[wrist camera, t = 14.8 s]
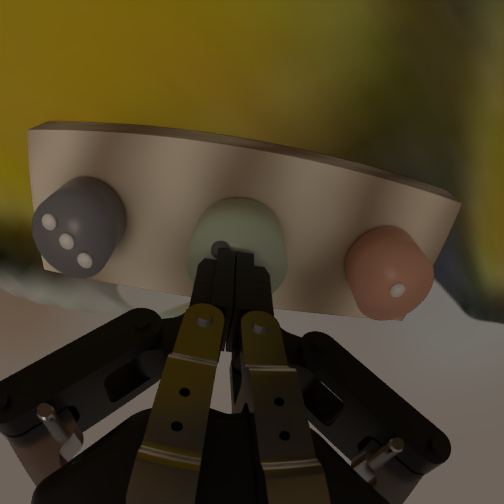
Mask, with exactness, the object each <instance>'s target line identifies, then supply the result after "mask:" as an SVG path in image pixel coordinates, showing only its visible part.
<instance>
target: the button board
mask: <svg viewBox="0 0 504 504" xmlns="http://www.w3.org/2000/svg"><path fill="white" fill-rule="evenodd" d="M28 154H29V169H30V181H31V191H32V200H33V208H34V213H35V211H36V209H37V207H38V206H39V205H40V204H41V203H42V202H43V201H44V200H45V199H47V198H48V197H49V196H50V195H51V194H53V193H54V192H55V191H56V190H57V189H59V188H60V187H61V186H62V185H64V184H65V183H66V182H68V181H69V180H72V179H74V178H79V177H88V178H93V179H96V180H98V181H100V182H102V183H104V184H105V185H107V186H108V187H109V188H110V189H111V190H112V191H113V192H114V193H115V194H116V196H117V197H118V199H119V200H120V202H121V204H122V206H123V209H124V212H125V218H126V227H125V232H124V235H123V237H122V239H121V240H120V242H119V244H118V245H117V247H116V248H115V250H114V252H113V253H112V255H111V257H110V258H109V260H108V262H107V263H106V265H105V266H104V268H103V269H102V270H101V271H100V272H99V273H97V274H96V275H94V276H92V277H88V278H87V279H92V280H98V281H103V282H108V283H113V284H119V285H124V286H130V287H135V288H141V289H147V290H153V291H158V292H165V293H171V294H176V295H182V296H189V297H191V296H192V291H193V286H194V284H193V282H192V281H191V279H190V277H189V275H188V271H187V266H186V259H187V253H188V250H189V246H190V243H191V240H192V236H193V233H194V230H195V226H196V224H197V221H198V219H199V218H200V216H201V215H202V213H203V212H204V211H205V210H206V209H208V208H209V207H210V206H212V205H213V204H215V203H217V202H219V201H222V200H225V199H231V198H245V199H250V200H254V201H256V202H259V203H261V204H263V205H264V206H266V207H267V208H268V209H270V210H271V211H272V212H273V213H274V215H275V216H276V217H277V219H278V220H279V223H280V225H281V228H282V232H283V238H284V243H285V248H286V254H287V260H288V269H287V273H286V276H285V279H284V281H283V283H282V284H281V285H280V287H279V288H278V289H277V290H276V291H275V292H274V293H273V294H272V301H273V308H275V309H284V310H292V311H302V312H311V313H320V314H330V315H340V316H351V317H362V318H368V317H366V316H365V315H364V314H362V313H361V311H360V310H359V308H358V306H357V304H356V301H355V299H354V296H353V293H352V291H351V288H350V286H349V283H348V281H347V278H346V275H345V270H344V265H345V260H346V257H347V254H348V252H349V250H350V249H351V247H352V246H353V245H354V243H355V242H356V241H357V240H358V239H359V238H361V237H362V236H363V235H365V234H366V233H368V232H370V231H372V230H375V229H377V228H381V227H396V228H400V229H402V230H404V231H405V232H407V233H408V234H409V235H410V236H411V237H412V238H413V240H414V241H415V242H416V244H417V245H418V246H419V247H420V249H421V250H422V251H423V253H424V254H425V255H426V257H427V258H428V259H429V261H430V262H431V264H432V266H433V265H434V263H435V261H436V259H437V257H438V255H439V253H440V251H441V249H442V247H443V245H444V243H445V241H446V239H447V237H448V235H449V232H450V230H451V228H452V226H453V224H454V221H455V219H456V217H457V214H458V212H459V210H460V207H461V205H462V203H461V202H460V201H459V200H457V199H456V198H455V197H454V196H453V195H451V194H450V193H449V192H448V191H446V190H445V189H442V188H439V187H436V186H433V185H430V184H427V183H424V182H421V181H418V180H415V179H412V178H408V177H405V176H402V175H399V174H395V173H392V172H389V171H385V170H382V169H378V168H375V167H371V166H368V165H364V164H360V163H356V162H353V161H349V160H345V159H341V158H337V157H333V156H329V155H324V154H320V153H316V152H311V151H307V150H302V149H298V148H293V147H288V146H283V145H278V144H273V143H268V142H262V141H257V140H251V139H245V138H239V137H233V136H227V135H220V134H213V133H206V132H198V131H191V130H182V129H174V128H164V127H154V126H142V125H130V124H114V123H93V122H45V123H43V124H40V125H38V126H36V127H33V128H31V129H29V130H28ZM41 256H42V255H41ZM42 260H43V265H44V269H45V270H49V271H54V272H58V273H61V272H59V271H58V270H56V269H55V268H53V267H52V266H51V265H50V264H49V263H48V262H47V261H46V260H45V259H44V258H43V256H42ZM405 315H406V314H405ZM405 315H403V316H401V317H398V318H395V319H391V320H399V321H402V320H403V319H404V317H405Z"/></svg>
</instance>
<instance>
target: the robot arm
mask: <svg viewBox="0 0 504 504" xmlns="http://www.w3.org/2000/svg"><path fill="white" fill-rule="evenodd" d="M235 253H236V256H235ZM225 343H226V351H227V352H232V360H231V365H230V384H231V400H232V414H226V413H223V412H220V411H217V410H214V409H211V408H210V403H211V397H212V391H213V385H214V379H215V373H216V368H217V364H218V362H219V357H220V352H221V351H224V348H225ZM160 379H161V380H160ZM159 380H160V383H159V386H158V390H157V393H156V396H155V400H154V403H153V407H152V408H150V409H146V410H143V411H140V412H138V413H136V414H134V415H132V416H130V417H129V418H128V419H126V420H125V421H124V422H122V423H121V424H120V425H118V426H117V427H116V428H114V429H113V430H112V431H110V432H109V433H108V434H106V435H105V436H104V437H102V438H101V439H99V440H98V441H97V442H95V443H94V444H93V445H91V446H90V447H88V448H87V449H86V450H84V451H83V452H82V453H80V454H79V455H77V456H76V457H75V458H73V456H74V455H75V454H76V453H77V452H78V451H79V450H80V449H81V447H82V445H83V441H84V438H83V433H82V432H84V431H86V430H87V429H89V428H90V427H91V426H93V425H95V424H96V423H98V422H99V421H101V420H102V419H104V418H105V417H107V416H108V415H110V414H111V413H113V412H114V411H116V410H117V409H119V408H120V407H122V406H123V405H124V404H126V403H127V402H129V401H130V400H132V399H133V398H135V397H136V396H137V395H139V394H140V393H142V392H143V391H145V390H146V389H148V388H149V387H150V386H152V385H153V384H155V383H156V382H158V381H159ZM321 382H322V383H324V384H325V385H326V386H327V387H328V388H329V389H330V390H331V391H332V392H333V393H334V394H335V395H336V396H337V397H339V398H340V399H341V400H340V399H339V398H337V397H336V396H335V395H334V394H333V393H332V392H331V391H330V390H329V389H327V387H326V386H324V385H323V384H322V383H321ZM308 421H310V422H311V423H312V424H313V425H314V426H315V427H316V428H317V429H318V430H319V431H320V432H321V433H322V434H323V435H324V436H325V437H326V438H327V439H328V440H329V441H330V442H331V443H332V444H334V446H336V447H337V448H338V449H339V450H340V451H341V452H342V453H343V454H344V455H345V456H346V457H348V458H349V459H350V460H351V466H350V465H349V464H348V463H347V462H346V461H345V460H344V459H343V458H342V457H341V456H340V455H338V453H337V452H336V451H335V450H334V449H333V448H332V447H331V446H330V445H329V444H328V443H327V442H326V441H325V440H324V439H323V438H322V437H321V436H320V435H319V434H318V433H316V432H315V431H314V430H312V429H311V428H310V427H309V423H308ZM0 432H1V433H2V435H3V436H4V437H5V438H6V439H7V440H8V441H9V443H10V444H11V446H12V448H13V450H14V451H15V453H16V454H17V457H18V458H19V460H20V462H21V463H22V465H23V467H24V468H25V470H26V471H27V473H28V474H29V476H30V477H31V479H32V480H33V482H34V483H35V485H36V486H37V487H36V489H35V491H34V493H33V496H32V501H31V504H403V502H404V501H405V500H406V498H407V497H408V496H409V494H410V493H411V492H412V491H413V489H414V488H415V486H416V485H417V484H418V482H419V480H420V479H421V478H422V476H424V475H425V474H427V473H428V472H430V471H431V470H433V469H434V468H436V467H438V466H439V465H441V464H442V463H444V462H445V461H446V460H447V459H448V458H449V456H450V453H451V445H450V441H449V439H448V438H447V436H446V435H445V434H444V433H443V432H442V431H441V430H440V429H438V428H437V427H436V426H435V425H434V424H433V423H431V422H430V421H429V420H428V419H426V418H425V417H424V416H423V415H422V414H421V413H419V412H418V411H417V410H416V409H415V408H414V407H412V406H411V405H410V404H409V403H408V402H406V401H405V400H404V399H403V398H402V397H400V396H399V395H398V394H397V393H396V392H395V391H394V390H392V389H391V388H390V387H389V386H388V385H386V384H385V383H384V382H383V381H382V380H380V379H379V378H378V377H377V376H376V375H375V374H374V373H372V372H371V371H370V370H369V369H368V368H367V367H365V366H364V365H363V364H362V363H361V362H360V361H358V360H357V359H356V358H355V357H354V356H352V355H351V354H350V353H349V352H348V351H347V350H346V349H344V348H343V347H342V346H341V345H340V344H339V343H338V342H336V341H335V340H334V339H333V338H332V337H330V336H329V335H327V334H325V333H322V332H318V331H313V332H308V333H306V334H305V335H304V336H303V337H299V336H296V335H293V334H290V333H288V332H286V331H285V330H283V329H282V328H281V327H280V325H279V323H278V321H277V319H276V318H275V317H274V311H273V301H272V292H271V281H270V274H269V273H268V271H267V270H266V268H265V267H262V266H255V265H254V253H247V252H241V251H237V252H236V251H234V250H227V249H221V248H219V249H218V256H217V260H215V259H208V258H204V259H203V260H202V261H201V262H200V263H199V264H198V267H197V272H196V277H195V281H194V286H193V291H192V296H191V301H190V306H189V308H188V309H187V310H186V312H185V313H184V314H182V315H180V316H178V317H174V318H166V319H161V317H160V316H159V315H158V314H157V313H156V312H155V311H153V310H150V309H147V308H136V309H132V310H130V311H128V312H126V313H124V314H122V315H121V316H119V317H117V318H115V319H113V320H111V321H109V322H108V323H106V324H104V325H102V326H100V327H98V328H97V329H95V330H93V331H92V332H89V333H87V334H86V335H84V336H82V337H80V338H78V339H76V340H75V341H73V342H71V343H69V344H67V345H65V346H64V347H62V348H60V349H58V350H56V351H54V352H53V353H51V354H49V355H47V356H46V357H44V358H42V359H40V360H38V361H36V362H34V363H33V364H31V365H29V366H27V367H25V368H24V369H22V370H20V371H18V372H16V373H15V374H13V375H11V376H9V377H7V378H5V379H3V380H2V381H0ZM72 458H73V459H72Z"/></svg>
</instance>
